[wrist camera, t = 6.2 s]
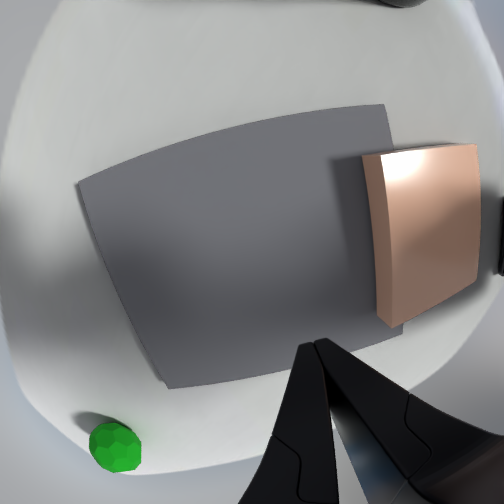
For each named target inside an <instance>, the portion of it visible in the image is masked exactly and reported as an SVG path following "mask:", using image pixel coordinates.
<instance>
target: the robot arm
mask: <svg viewBox="0 0 504 504" xmlns="http://www.w3.org/2000/svg"><path fill="white" fill-rule="evenodd" d="M498 273H499V274H500V275H501V276H504V202H503V227H502V242H501V253H500V262H499V270H498ZM331 416H332V419H333V421H334V423H335V426H336V428H337V430H338V433H339V435H340V437H341V439H342V442H343V444H344V447H345V449H346V451H347V454H348V456H349V458H350V461H351V463H352V465H353V468H354V470H355V473H356V475H357V477H358V480H359V482H360V484H361V487H362V489H363V492H364V494H365V496H366V499H367V501H368V503H369V504H504V435H498V434H494V433H491V432H488V431H486V430H483V429H481V428H478V427H476V426H473V425H471V424H469V423H467V422H464V421H462V420H459V419H457V418H455V417H453V416H451V415H449V414H446V413H444V412H442V411H440V410H438V409H436V408H434V407H433V406H431V405H429V404H428V403H426V402H424V401H423V400H421V399H419V398H418V397H416V396H414V395H413V394H409V392H408V391H407V390H405V389H404V388H402V387H401V386H399V385H397V384H396V383H394V382H393V381H391V380H390V379H388V378H387V377H385V376H384V375H382V374H381V373H379V372H378V371H376V370H375V369H373V368H372V367H370V366H369V365H367V364H366V363H364V362H363V361H361V360H360V359H358V358H357V357H355V356H354V355H352V354H351V353H349V352H348V351H346V350H345V349H343V348H342V347H340V346H339V345H337V344H336V343H335V342H333V341H332V340H330V339H329V338H321V339H318V340H315V341H314V342H306V343H302V344H299V345H298V348H297V352H296V355H295V359H294V362H293V366H292V370H291V373H290V377H289V380H288V383H287V387H286V390H285V393H284V397H283V400H282V403H281V406H280V410H279V413H278V416H277V419H276V422H275V425H274V428H273V431H272V436H271V437H270V439H269V442H268V445H267V448H266V451H265V453H264V456H263V458H262V461H261V463H260V465H259V467H258V469H257V471H256V473H255V475H254V477H253V479H252V481H251V483H250V484H249V486H248V488H247V490H246V491H245V493H244V494H243V496H242V498H241V499H240V501H239V503H238V504H339V492H338V479H337V469H336V458H335V448H334V441H333V431H332V422H331Z"/></svg>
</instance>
